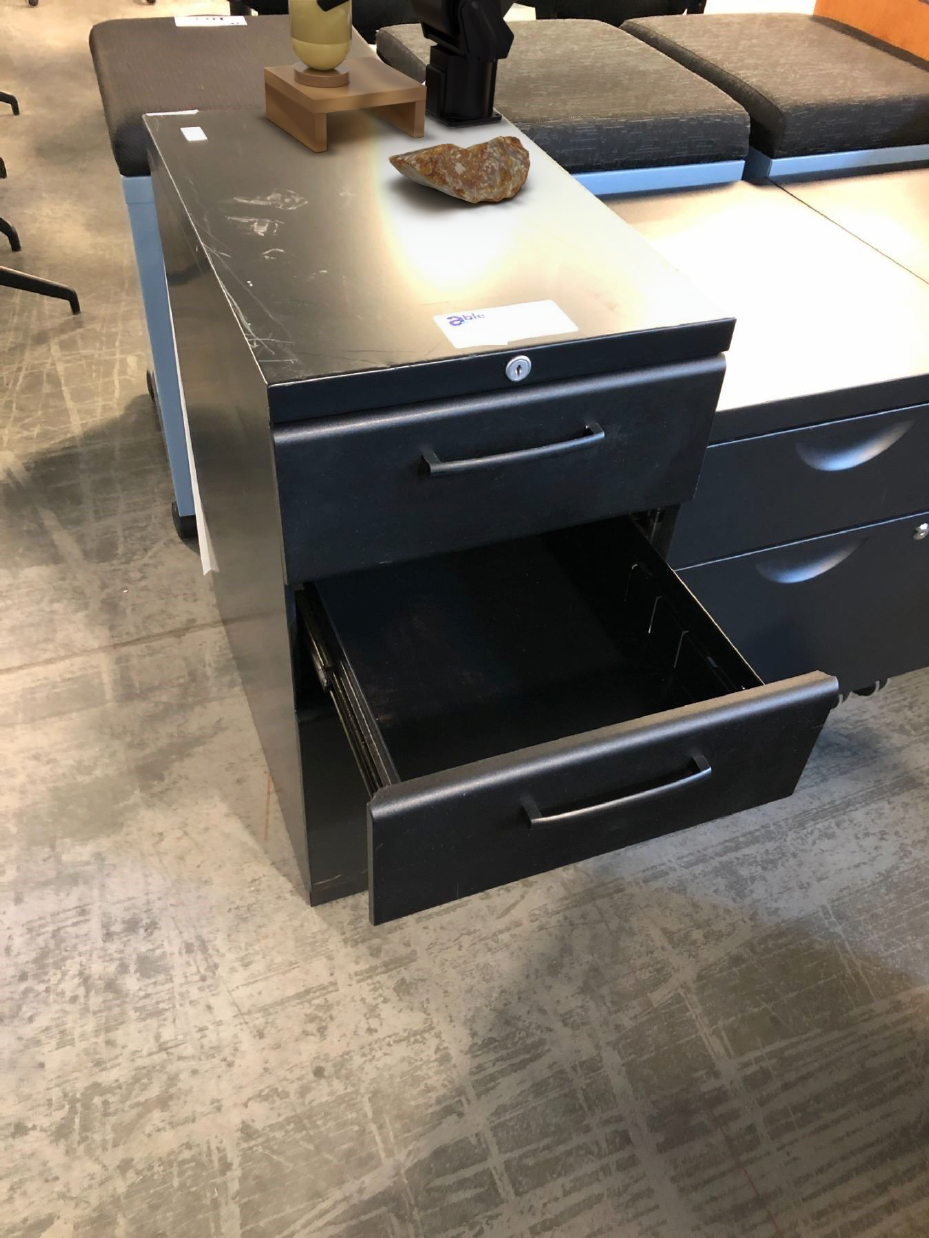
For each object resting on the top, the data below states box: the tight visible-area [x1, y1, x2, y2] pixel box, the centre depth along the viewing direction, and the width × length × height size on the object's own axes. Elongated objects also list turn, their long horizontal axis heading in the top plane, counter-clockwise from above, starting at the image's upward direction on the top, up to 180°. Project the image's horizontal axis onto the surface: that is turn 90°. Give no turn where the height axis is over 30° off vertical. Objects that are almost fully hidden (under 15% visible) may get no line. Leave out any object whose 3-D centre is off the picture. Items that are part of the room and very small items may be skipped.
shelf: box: [263, 56, 427, 153], centre depth 93 cm, size 12×10×4 cm
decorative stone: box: [388, 135, 531, 204], centre depth 85 cm, size 10×4×15 cm
